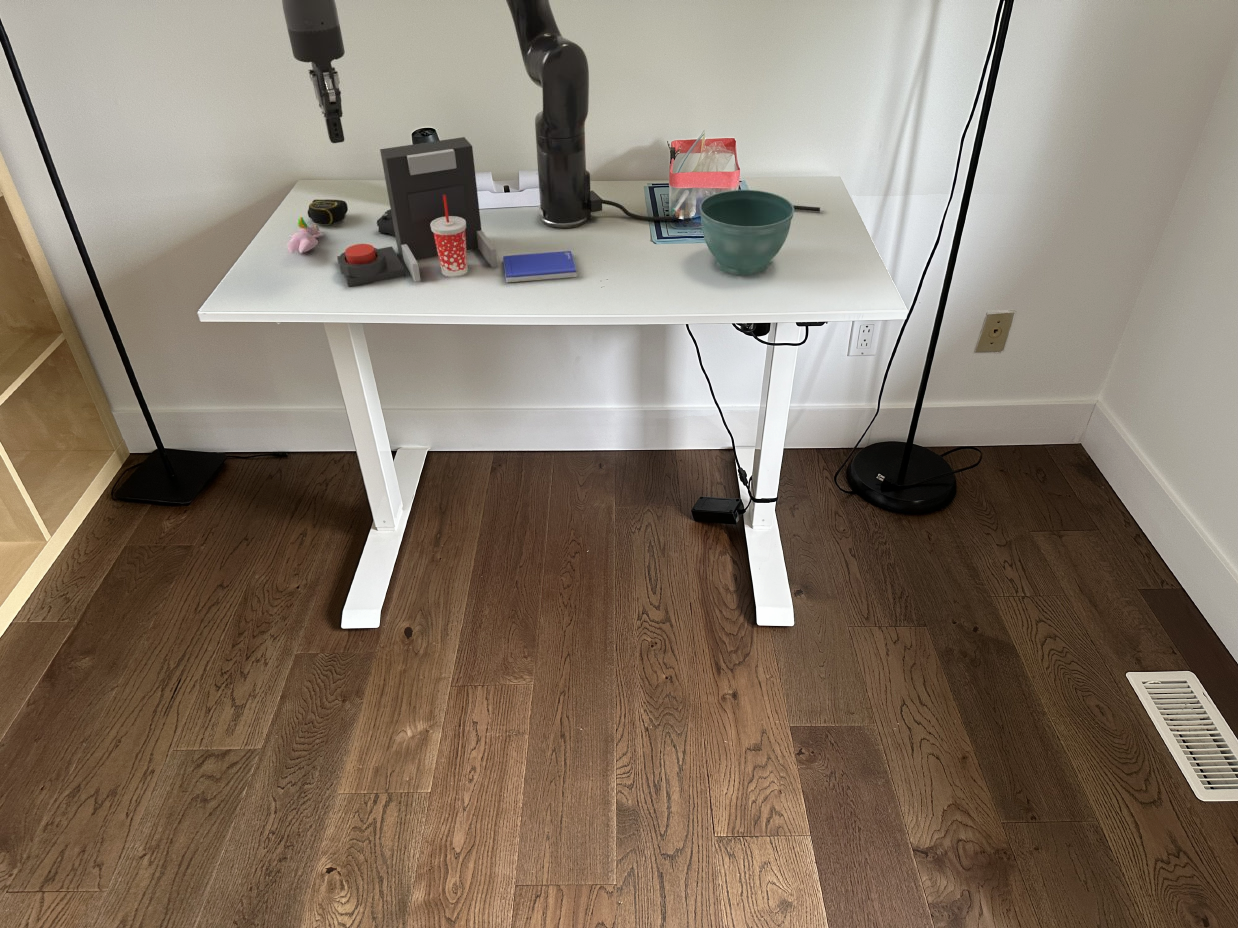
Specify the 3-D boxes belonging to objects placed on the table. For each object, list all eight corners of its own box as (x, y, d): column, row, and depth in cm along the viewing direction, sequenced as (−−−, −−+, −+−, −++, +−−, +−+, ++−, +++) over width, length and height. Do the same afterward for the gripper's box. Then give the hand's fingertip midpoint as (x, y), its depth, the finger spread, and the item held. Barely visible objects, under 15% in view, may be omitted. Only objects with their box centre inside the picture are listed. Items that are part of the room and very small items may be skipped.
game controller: (407, 236, 164) (382, 213, 162) (392, 253, 167) (367, 230, 165) (426, 215, 171) (402, 193, 169) (411, 232, 174) (387, 210, 172)
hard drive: (571, 249, 158) (502, 255, 156) (576, 269, 152) (505, 275, 150) (571, 257, 159) (503, 263, 157) (576, 277, 152) (506, 283, 151)
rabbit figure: (296, 241, 168) (280, 263, 155) (290, 210, 165) (273, 230, 152) (329, 239, 168) (316, 261, 156) (323, 208, 165) (309, 228, 153)
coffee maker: (476, 237, 166) (464, 137, 154) (497, 266, 156) (486, 162, 144) (398, 251, 161) (379, 149, 149) (415, 282, 151) (397, 175, 139)
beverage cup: (462, 281, 152) (452, 204, 143) (431, 276, 153) (419, 199, 144) (477, 266, 156) (468, 190, 147) (447, 261, 158) (436, 186, 149)
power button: (373, 250, 154) (371, 241, 153) (378, 262, 151) (377, 253, 150) (344, 256, 153) (342, 246, 152) (349, 267, 149) (347, 258, 148)
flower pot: (685, 276, 153) (687, 218, 146) (711, 240, 164) (715, 184, 158) (774, 292, 148) (782, 232, 141) (795, 253, 160) (803, 196, 153)
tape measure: (351, 215, 174) (347, 197, 172) (340, 229, 169) (336, 210, 167) (317, 214, 175) (313, 196, 172) (306, 228, 169) (301, 210, 167)
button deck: (393, 254, 160) (390, 236, 158) (406, 277, 153) (403, 259, 151) (336, 264, 157) (332, 246, 155) (346, 289, 150) (342, 270, 147)
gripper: (346, 30, 124) (368, 151, 135) (331, 11, 134) (353, 126, 145) (292, 35, 122) (319, 158, 133) (281, 16, 131) (307, 132, 142)
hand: (337, 141), depth 139 cm, fingers closed
